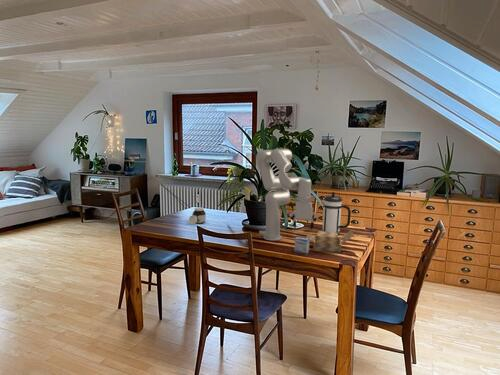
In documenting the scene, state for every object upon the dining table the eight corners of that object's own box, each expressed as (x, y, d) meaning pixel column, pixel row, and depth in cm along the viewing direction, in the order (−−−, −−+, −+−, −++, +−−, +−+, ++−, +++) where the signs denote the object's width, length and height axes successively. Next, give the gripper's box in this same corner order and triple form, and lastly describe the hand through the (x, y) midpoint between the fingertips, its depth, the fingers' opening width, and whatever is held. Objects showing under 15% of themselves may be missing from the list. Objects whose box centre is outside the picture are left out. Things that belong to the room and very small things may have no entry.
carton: (304, 252, 213) (305, 241, 212) (307, 240, 236) (307, 230, 235) (341, 255, 209) (342, 244, 208) (339, 242, 232) (340, 232, 231)
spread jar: (206, 221, 276) (206, 207, 274) (203, 225, 265) (203, 210, 263) (191, 221, 277) (191, 206, 275) (187, 225, 266) (187, 209, 264)
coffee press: (329, 237, 242) (332, 194, 237) (316, 231, 257) (318, 190, 252) (349, 235, 250) (352, 193, 245) (335, 229, 264) (337, 189, 259)
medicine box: (294, 252, 213) (294, 238, 211) (296, 249, 217) (296, 236, 215) (306, 254, 210) (307, 240, 208) (308, 252, 214) (309, 238, 212)
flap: (342, 243, 213) (352, 234, 211) (341, 237, 225) (351, 229, 223) (343, 243, 213) (353, 235, 211) (342, 237, 225) (352, 229, 223)
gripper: (288, 200, 206) (288, 228, 208) (319, 201, 202) (317, 230, 205) (290, 198, 213) (289, 225, 216) (319, 199, 210) (318, 227, 212)
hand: (303, 228), depth 210 cm, fingers open, 9 cm apart
